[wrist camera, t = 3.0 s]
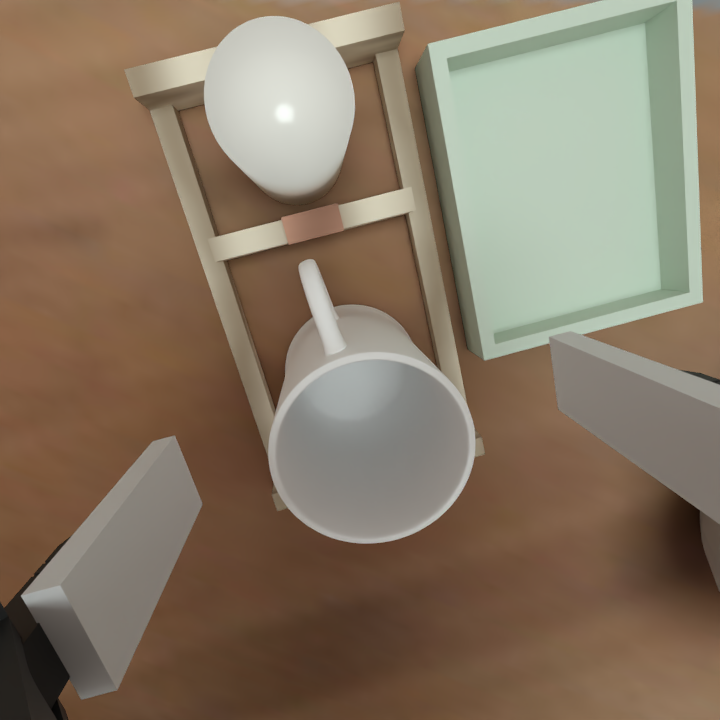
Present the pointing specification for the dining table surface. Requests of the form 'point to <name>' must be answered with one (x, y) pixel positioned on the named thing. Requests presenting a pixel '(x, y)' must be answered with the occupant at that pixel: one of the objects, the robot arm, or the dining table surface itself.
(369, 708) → the dining table surface
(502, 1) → the dining table surface
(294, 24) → the white capsule
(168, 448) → the robot arm
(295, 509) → the mug
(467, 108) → the tray
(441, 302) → the caddy
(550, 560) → the dining table surface
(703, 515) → the vase
